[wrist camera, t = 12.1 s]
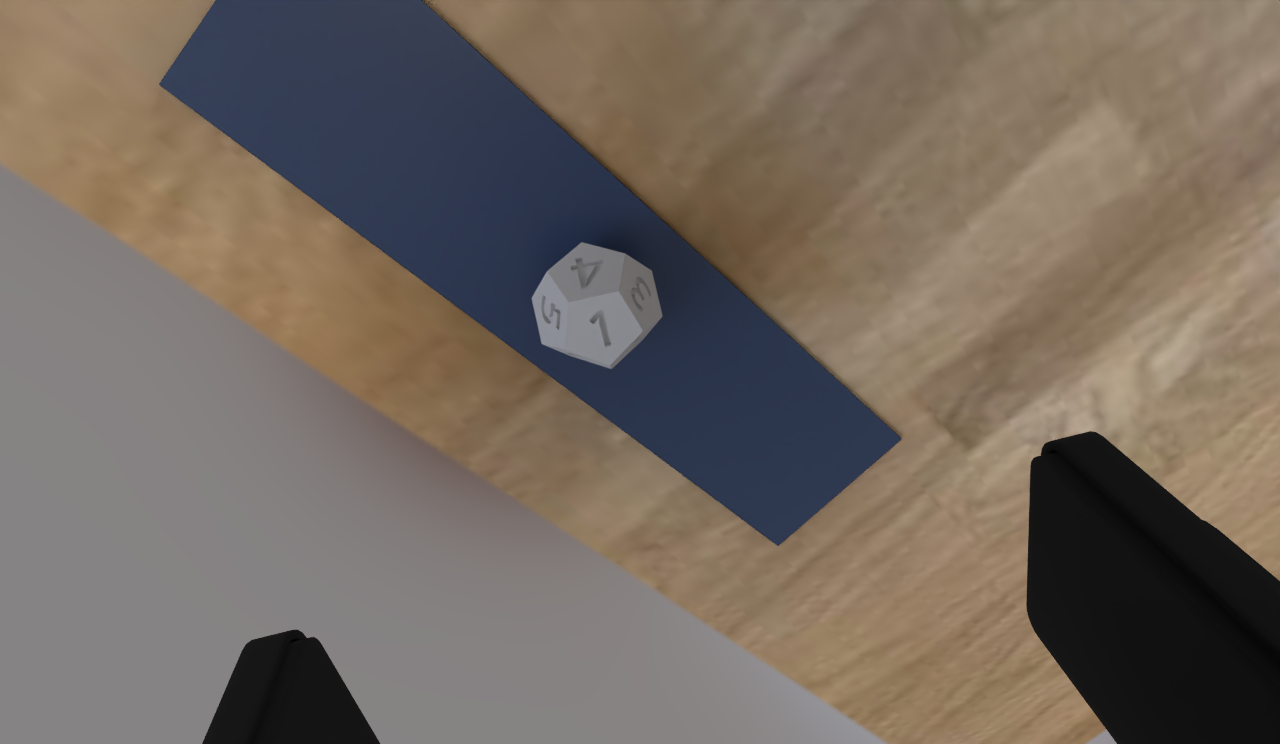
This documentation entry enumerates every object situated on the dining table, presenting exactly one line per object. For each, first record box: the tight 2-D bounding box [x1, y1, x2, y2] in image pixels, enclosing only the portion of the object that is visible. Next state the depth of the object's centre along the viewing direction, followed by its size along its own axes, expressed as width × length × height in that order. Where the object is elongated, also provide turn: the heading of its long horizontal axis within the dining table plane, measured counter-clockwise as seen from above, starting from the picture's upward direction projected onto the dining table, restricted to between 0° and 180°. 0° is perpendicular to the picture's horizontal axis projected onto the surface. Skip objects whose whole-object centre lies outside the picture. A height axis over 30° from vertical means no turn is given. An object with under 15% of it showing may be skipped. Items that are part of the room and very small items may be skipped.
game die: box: [532, 242, 662, 369], centre depth 22 cm, size 4×4×3 cm
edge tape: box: [159, 0, 901, 546], centre depth 24 cm, size 6×24×1 cm, turn 47°
